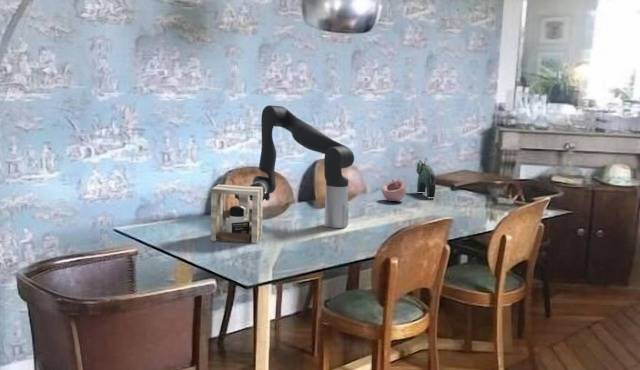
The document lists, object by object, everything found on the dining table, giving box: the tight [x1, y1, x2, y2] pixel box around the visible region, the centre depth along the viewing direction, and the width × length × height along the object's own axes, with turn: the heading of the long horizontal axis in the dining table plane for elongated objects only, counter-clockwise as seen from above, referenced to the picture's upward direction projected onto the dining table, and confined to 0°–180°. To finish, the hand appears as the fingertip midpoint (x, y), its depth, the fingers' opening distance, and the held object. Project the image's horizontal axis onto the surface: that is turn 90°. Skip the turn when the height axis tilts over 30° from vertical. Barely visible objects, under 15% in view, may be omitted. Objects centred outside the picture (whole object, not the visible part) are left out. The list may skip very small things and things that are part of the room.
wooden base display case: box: [217, 195, 252, 243], centre depth 267 cm, size 19×12×15 cm, turn 174°
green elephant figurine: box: [416, 157, 436, 198], centre depth 363 cm, size 20×6×20 cm, turn 10°
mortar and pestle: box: [381, 179, 407, 202], centre depth 345 cm, size 12×12×12 cm
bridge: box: [210, 184, 264, 244], centre depth 262 cm, size 10×18×20 cm, turn 84°
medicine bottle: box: [225, 205, 251, 234], centre depth 264 cm, size 7×7×12 cm
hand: (249, 198), depth 284 cm, fingers open, 8 cm apart
